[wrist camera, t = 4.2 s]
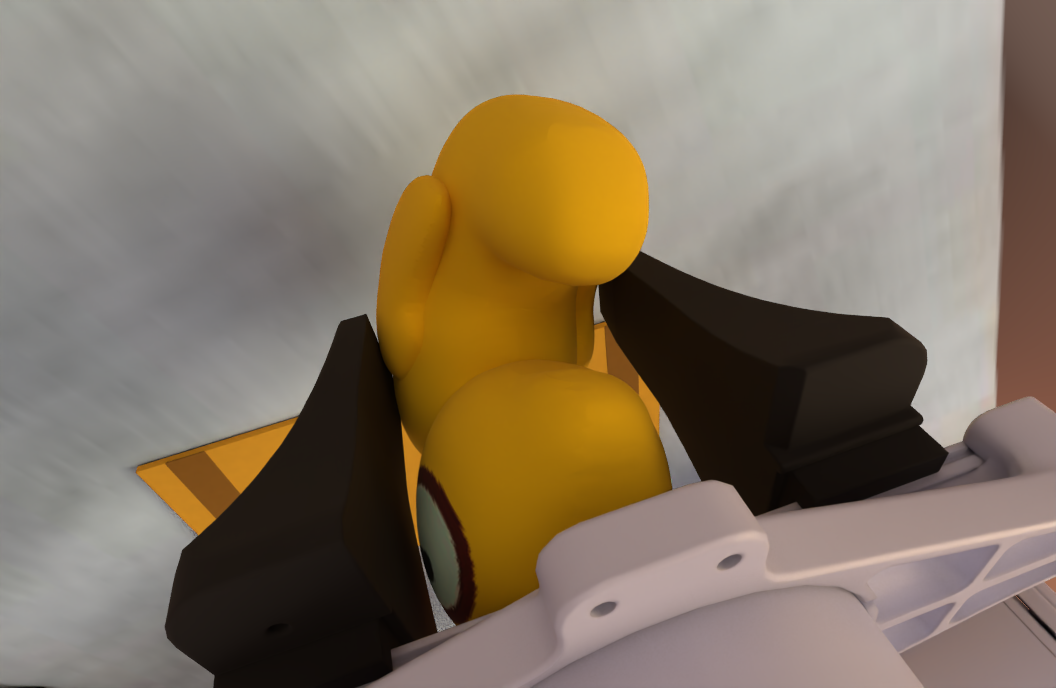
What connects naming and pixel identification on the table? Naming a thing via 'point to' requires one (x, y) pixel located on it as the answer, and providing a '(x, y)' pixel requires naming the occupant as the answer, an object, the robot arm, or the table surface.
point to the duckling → (514, 343)
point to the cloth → (231, 465)
